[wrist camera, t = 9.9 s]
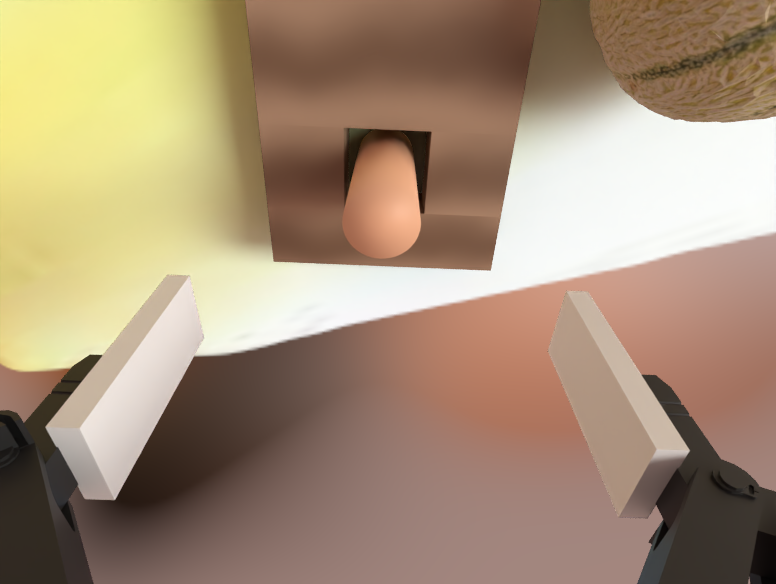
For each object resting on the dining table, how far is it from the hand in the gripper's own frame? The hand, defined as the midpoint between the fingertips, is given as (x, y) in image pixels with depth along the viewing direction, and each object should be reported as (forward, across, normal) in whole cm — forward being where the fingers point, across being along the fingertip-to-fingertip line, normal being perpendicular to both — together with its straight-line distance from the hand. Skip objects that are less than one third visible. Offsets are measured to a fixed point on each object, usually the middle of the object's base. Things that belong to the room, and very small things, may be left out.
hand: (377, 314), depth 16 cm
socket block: (+20, 0, +2) cm, 20 cm away
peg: (+20, 0, 0) cm, 20 cm away
